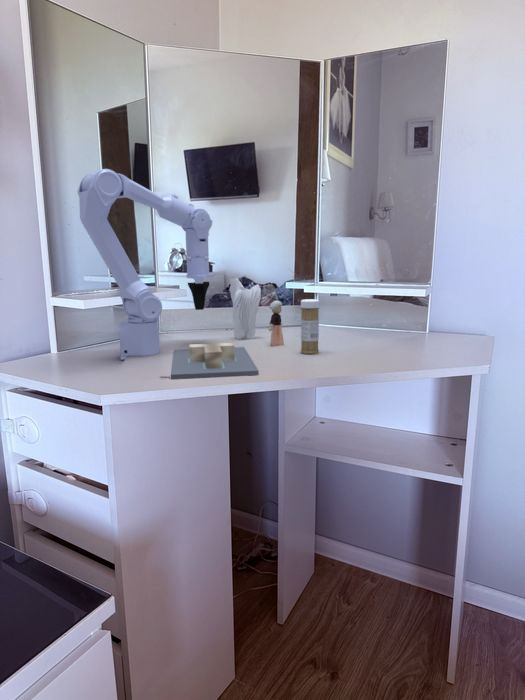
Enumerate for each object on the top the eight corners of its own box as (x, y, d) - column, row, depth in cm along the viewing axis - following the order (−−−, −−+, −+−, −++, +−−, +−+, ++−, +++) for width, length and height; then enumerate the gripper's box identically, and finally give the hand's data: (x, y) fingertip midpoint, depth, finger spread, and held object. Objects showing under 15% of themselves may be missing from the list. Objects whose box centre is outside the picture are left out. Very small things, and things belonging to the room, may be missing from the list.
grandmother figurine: (281, 351, 125) (281, 302, 123) (266, 350, 126) (266, 301, 124) (286, 345, 133) (285, 299, 130) (272, 345, 134) (271, 298, 131)
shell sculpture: (263, 342, 137) (262, 278, 134) (234, 344, 135) (233, 279, 131) (254, 337, 145) (254, 277, 142) (228, 339, 143) (226, 277, 139)
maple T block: (190, 369, 102) (189, 353, 102) (190, 359, 112) (189, 344, 111) (237, 367, 104) (237, 351, 103) (233, 357, 114) (232, 342, 113)
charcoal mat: (170, 379, 98) (170, 374, 98) (173, 353, 124) (173, 349, 123) (258, 375, 101) (258, 370, 101) (244, 350, 126) (244, 346, 126)
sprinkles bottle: (315, 350, 125) (316, 298, 123) (321, 354, 121) (321, 300, 118) (298, 351, 125) (298, 299, 122) (303, 355, 120) (303, 300, 117)
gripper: (214, 257, 119) (216, 312, 122) (211, 256, 133) (213, 306, 136) (185, 257, 118) (187, 313, 121) (185, 257, 132) (187, 306, 135)
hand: (199, 309), depth 128 cm, fingers closed
